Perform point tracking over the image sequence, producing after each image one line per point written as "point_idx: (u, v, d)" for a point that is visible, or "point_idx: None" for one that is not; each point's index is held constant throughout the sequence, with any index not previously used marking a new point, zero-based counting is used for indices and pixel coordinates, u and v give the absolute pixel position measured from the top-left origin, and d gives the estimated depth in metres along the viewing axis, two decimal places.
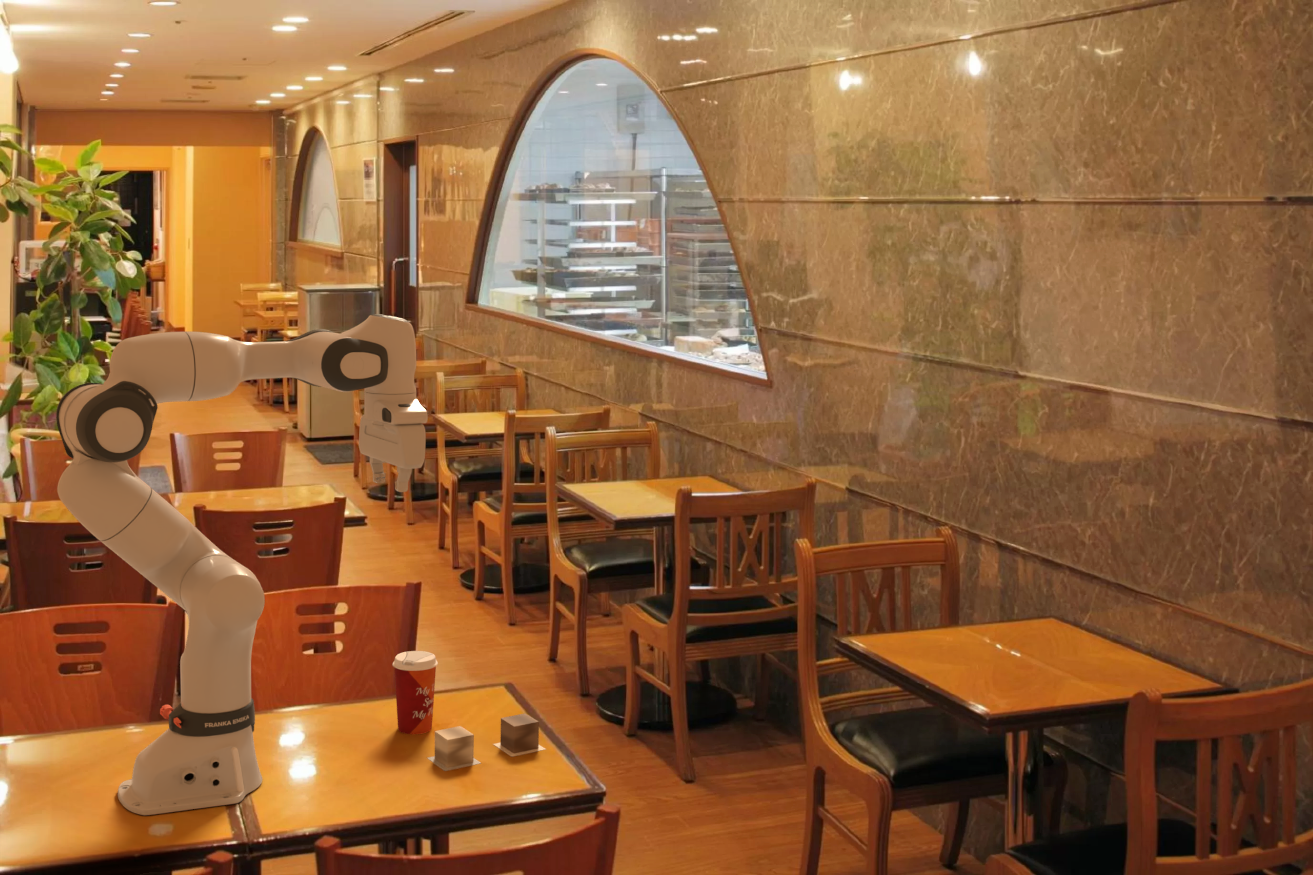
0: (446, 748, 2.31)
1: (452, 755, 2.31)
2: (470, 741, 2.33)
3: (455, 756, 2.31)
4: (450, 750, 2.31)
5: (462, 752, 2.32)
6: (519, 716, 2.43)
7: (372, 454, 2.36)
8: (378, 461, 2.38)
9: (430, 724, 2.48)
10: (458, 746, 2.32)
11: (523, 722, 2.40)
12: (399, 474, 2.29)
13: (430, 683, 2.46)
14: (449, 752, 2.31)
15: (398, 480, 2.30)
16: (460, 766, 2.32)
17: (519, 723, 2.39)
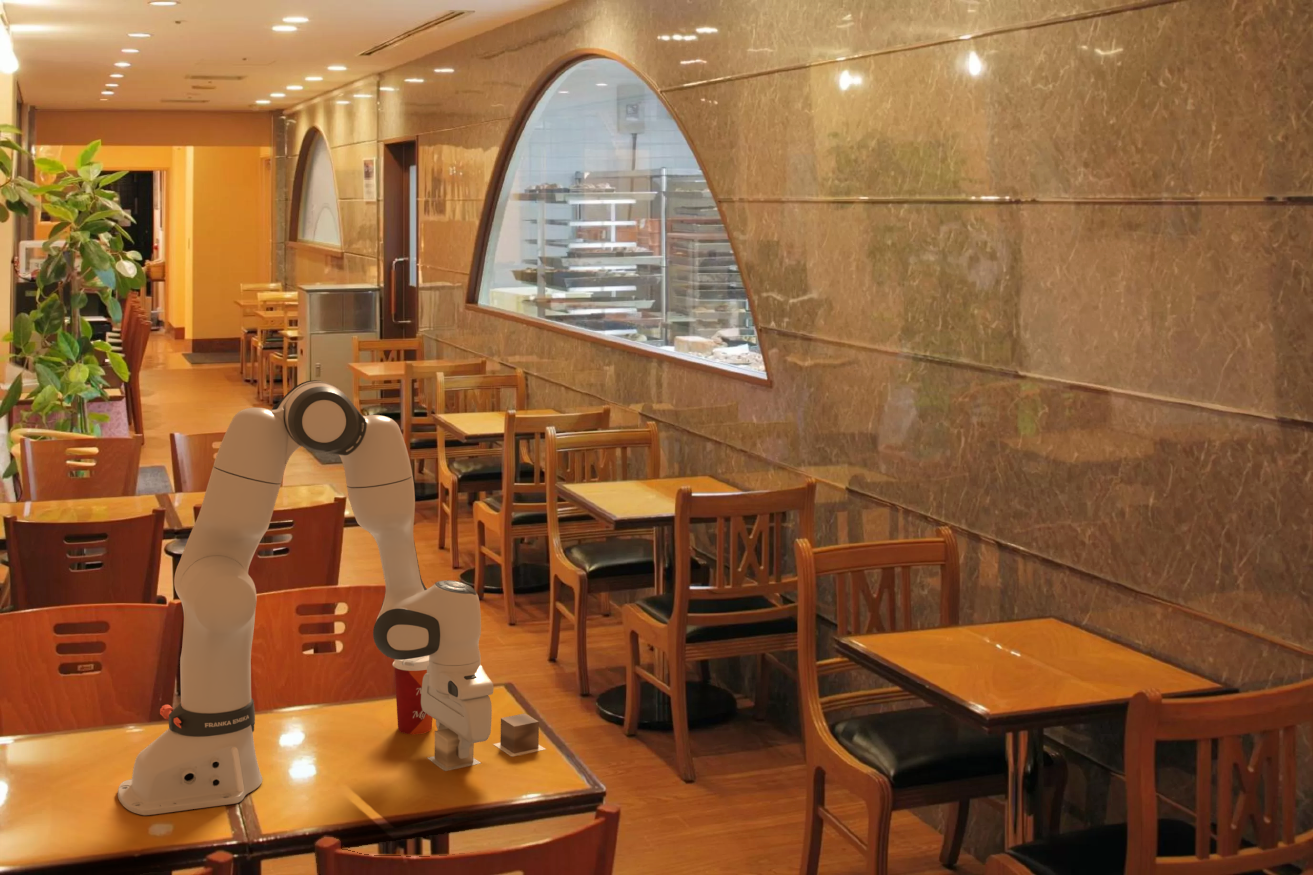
0: (446, 748, 2.31)
1: (452, 755, 2.31)
2: None
3: (455, 756, 2.31)
4: (450, 750, 2.31)
5: None
6: (519, 716, 2.43)
7: (435, 717, 2.35)
8: None
9: (430, 724, 2.48)
10: None
11: (523, 722, 2.40)
12: (460, 742, 2.29)
13: None
14: (449, 752, 2.31)
15: (459, 747, 2.30)
16: (460, 766, 2.32)
17: (519, 723, 2.39)
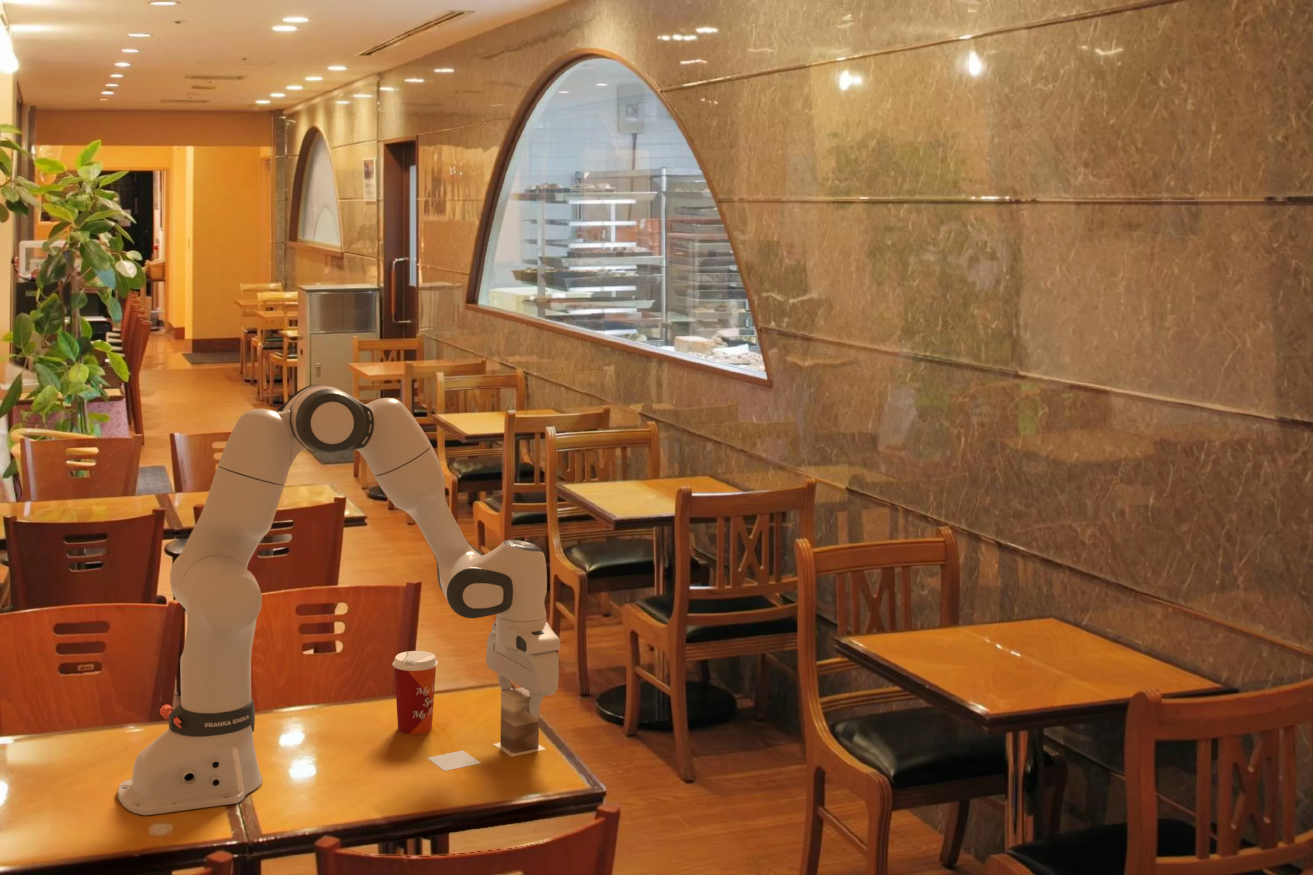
0: (513, 707, 2.37)
1: (519, 714, 2.38)
2: None
3: (521, 715, 2.38)
4: (517, 709, 2.37)
5: None
6: None
7: (502, 673, 2.42)
8: (506, 677, 2.44)
9: (430, 724, 2.48)
10: (525, 706, 2.38)
11: None
12: (532, 699, 2.35)
13: (430, 683, 2.46)
14: (516, 711, 2.37)
15: (530, 704, 2.35)
16: (460, 766, 2.32)
17: None
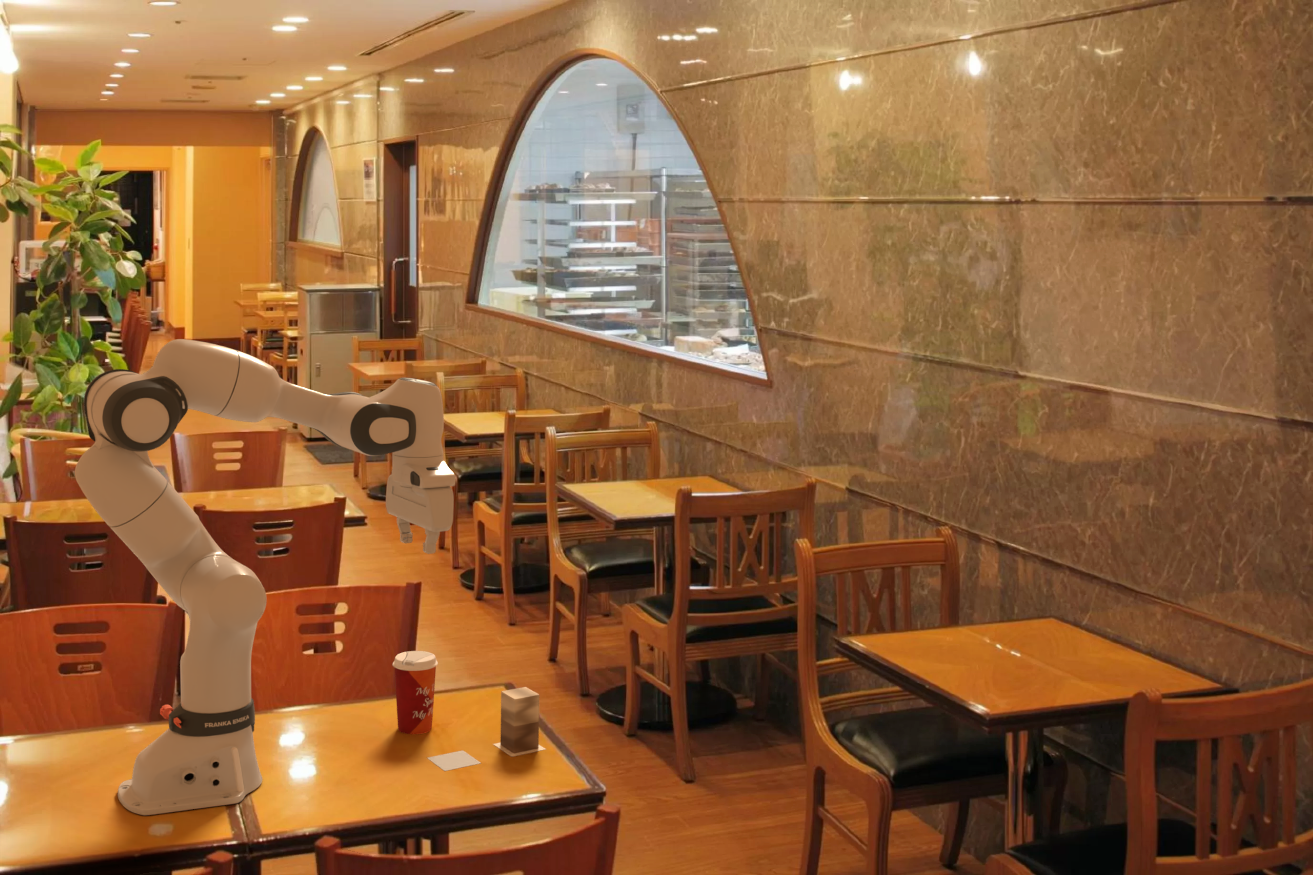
0: (513, 707, 2.37)
1: (519, 714, 2.38)
2: (536, 701, 2.40)
3: (521, 715, 2.38)
4: (517, 709, 2.37)
5: (528, 712, 2.39)
6: None
7: (399, 515, 2.38)
8: (405, 521, 2.41)
9: (430, 724, 2.48)
10: (525, 706, 2.38)
11: None
12: (427, 536, 2.31)
13: (430, 683, 2.46)
14: (516, 711, 2.37)
15: (426, 542, 2.32)
16: (460, 766, 2.32)
17: None
